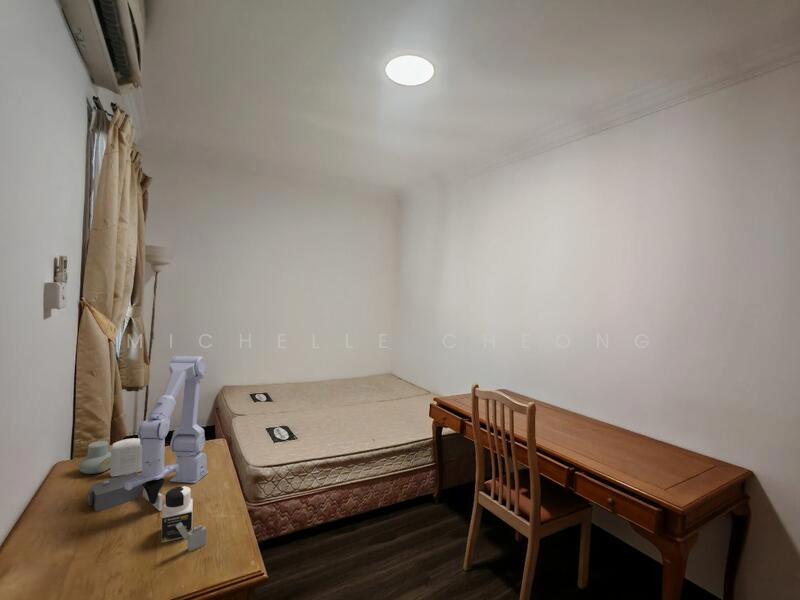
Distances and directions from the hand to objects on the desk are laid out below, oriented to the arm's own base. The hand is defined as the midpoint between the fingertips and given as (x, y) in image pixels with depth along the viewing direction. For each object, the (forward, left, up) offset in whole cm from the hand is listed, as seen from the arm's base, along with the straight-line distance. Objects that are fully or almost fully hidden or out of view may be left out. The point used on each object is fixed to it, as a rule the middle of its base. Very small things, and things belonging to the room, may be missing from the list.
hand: (152, 502), depth 115 cm
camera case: (+16, -5, -3) cm, 17 cm away
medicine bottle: (-14, +8, -3) cm, 17 cm away
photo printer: (+26, -21, -3) cm, 33 cm away
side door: (+3, -4, -2) cm, 5 cm away
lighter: (-22, +14, -3) cm, 26 cm away
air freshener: (+38, -21, -3) cm, 43 cm away
